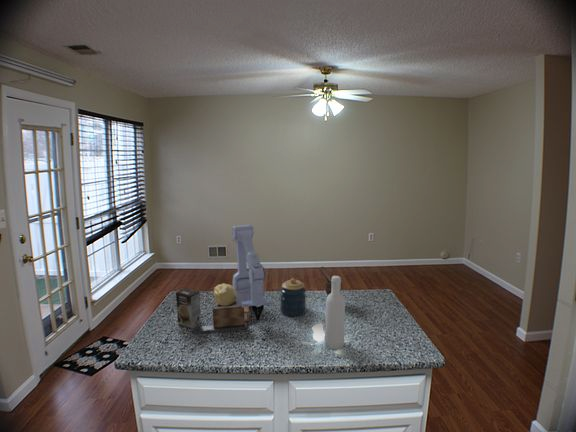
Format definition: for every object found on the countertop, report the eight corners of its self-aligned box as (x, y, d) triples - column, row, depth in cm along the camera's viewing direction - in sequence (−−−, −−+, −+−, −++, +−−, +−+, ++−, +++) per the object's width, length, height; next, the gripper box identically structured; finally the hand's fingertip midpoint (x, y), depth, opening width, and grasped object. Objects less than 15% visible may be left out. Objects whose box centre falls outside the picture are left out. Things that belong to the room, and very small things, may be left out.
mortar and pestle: (320, 307, 175) (320, 271, 171) (318, 300, 184) (319, 265, 180) (342, 307, 175) (343, 270, 171) (339, 300, 184) (340, 265, 180)
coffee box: (177, 324, 159) (175, 292, 156) (187, 318, 164) (185, 287, 161) (191, 328, 154) (189, 296, 151) (201, 322, 160) (199, 290, 157)
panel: (244, 323, 157) (243, 304, 155) (244, 324, 155) (244, 306, 153) (213, 325, 154) (212, 307, 152) (213, 327, 153) (212, 309, 151)
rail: (246, 324, 158) (246, 322, 158) (247, 328, 154) (246, 326, 154) (193, 329, 154) (193, 327, 154) (192, 334, 150) (192, 331, 150)
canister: (306, 305, 177) (306, 274, 174) (305, 317, 164) (305, 283, 161) (282, 304, 178) (281, 273, 175) (278, 316, 166) (278, 282, 162)
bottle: (331, 337, 147) (333, 272, 142) (347, 343, 142) (349, 276, 137) (321, 345, 141) (322, 277, 135) (337, 352, 136) (339, 282, 131)
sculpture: (211, 301, 182) (210, 282, 180) (232, 297, 188) (232, 278, 186) (217, 310, 172) (216, 290, 170) (239, 305, 178) (239, 286, 176)
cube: (248, 315, 167) (248, 306, 166) (249, 321, 162) (248, 311, 161) (238, 316, 166) (238, 307, 165) (238, 322, 161) (238, 312, 160)
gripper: (241, 297, 149) (242, 325, 151) (274, 294, 151) (274, 322, 154) (241, 291, 156) (241, 318, 158) (272, 288, 158) (272, 315, 161)
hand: (257, 319), depth 157 cm, fingers closed
